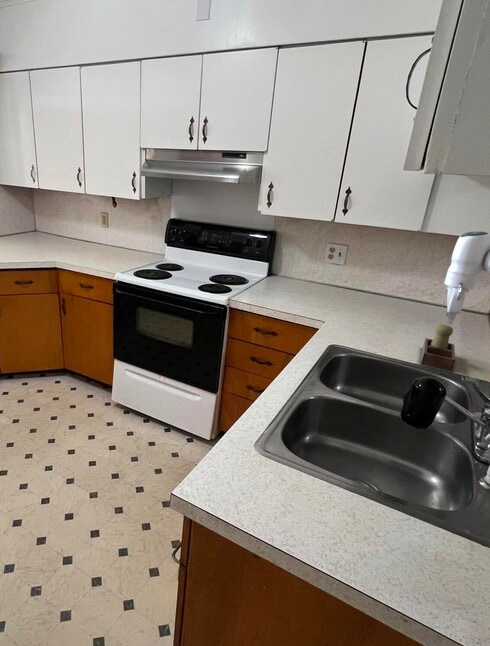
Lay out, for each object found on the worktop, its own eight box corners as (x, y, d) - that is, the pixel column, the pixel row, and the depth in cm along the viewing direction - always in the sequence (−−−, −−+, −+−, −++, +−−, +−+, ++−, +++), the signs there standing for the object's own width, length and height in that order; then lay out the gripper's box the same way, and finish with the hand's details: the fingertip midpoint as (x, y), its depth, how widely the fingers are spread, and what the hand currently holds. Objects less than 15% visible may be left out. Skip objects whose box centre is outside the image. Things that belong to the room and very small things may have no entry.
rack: (450, 355, 155) (454, 344, 153) (451, 372, 141) (455, 360, 139) (422, 349, 159) (425, 338, 157) (420, 365, 145) (424, 352, 143)
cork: (437, 350, 156) (446, 322, 152) (450, 357, 151) (459, 328, 147) (422, 351, 155) (431, 322, 151) (435, 358, 150) (444, 329, 146)
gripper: (473, 288, 133) (460, 329, 138) (470, 276, 149) (458, 314, 154) (450, 285, 136) (438, 325, 141) (449, 274, 152) (438, 311, 157)
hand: (449, 319), depth 148 cm, fingers open, 8 cm apart
